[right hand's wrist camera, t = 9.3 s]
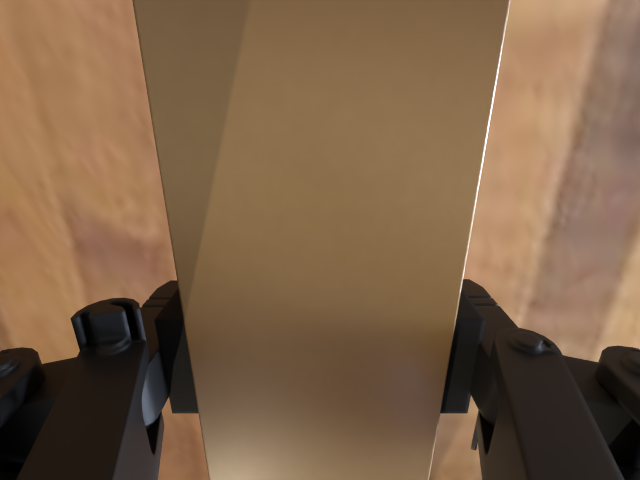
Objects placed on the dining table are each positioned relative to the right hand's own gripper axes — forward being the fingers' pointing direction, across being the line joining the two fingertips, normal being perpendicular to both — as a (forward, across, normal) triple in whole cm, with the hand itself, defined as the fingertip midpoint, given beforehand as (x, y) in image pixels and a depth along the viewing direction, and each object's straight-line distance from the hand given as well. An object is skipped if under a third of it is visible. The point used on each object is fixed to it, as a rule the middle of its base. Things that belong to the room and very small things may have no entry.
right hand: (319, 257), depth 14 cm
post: (0, 0, -28) cm, 29 cm away
